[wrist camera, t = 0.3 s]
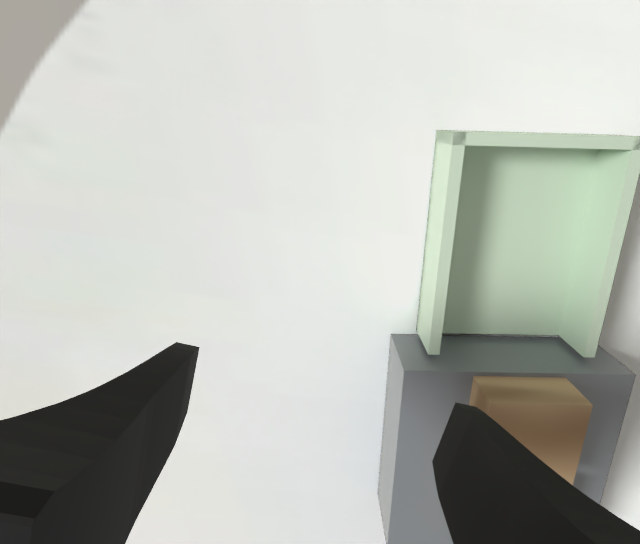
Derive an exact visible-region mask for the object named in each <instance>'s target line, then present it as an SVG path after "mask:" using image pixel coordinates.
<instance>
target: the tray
mask: <svg viewBox="0 0 640 544" xmlns="http://www.w3.org/2000/svg"><path fill="white" fill-rule="evenodd" d="M639 174H640V136H622V135H595V134H558V133H522V132H485V131H448V130H437V133H436V143H435V152H434V162H433V172H432V182H431V192H430V201H429V211H428V221H427V231H426V240H425V250H424V260H423V270H422V279H421V289H420V299H419V309H418V319H417V328H416V330H417V332H418V335H419V337H420V339H421V341H422V343H423V345H424V347H425V349H426V351H427V353H428V355H439V354H440V346H441V338H442V333H458V334H512V335H559V336H560V337H561V338H562V339H563V340H564V341H566V342H567V343H568V344H569V345H570V346H571V347H572V348H574V349H575V350H576V351H577V352H578V353H579V354H580V355H582V356H583V357H593V358H595V354H596V350H597V346H598V342H599V338H600V334H601V329H602V325H603V321H604V317H605V313H606V309H607V305H608V301H609V297H610V293H611V288H612V284H613V280H614V276H615V272H616V268H617V264H618V260H619V256H620V252H621V247H622V243H623V239H624V235H625V231H626V227H627V223H628V219H629V215H630V210H631V206H632V202H633V198H634V194H635V190H636V186H637V182H638V178H639Z"/></svg>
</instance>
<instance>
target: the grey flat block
mask: <svg viewBox="0 0 640 544" xmlns="http://www.w3.org/2000/svg"><path fill="white" fill-rule="evenodd" d="M473 376H500V377H559V378H567V379H568V380H569V381H570V382H571V383H572V384H573V385H574V386H575V387H576V388H577V389H578V391H579V392H580V393H581V394H582V395H583V396H584V397H585V398H586V399H587V400H588V401H589V402H590V403H591V404H592V405H593V407H592V411H591V415H590V419H589V423H588V427H587V431H586V435H585V439H584V443H583V447H582V451H581V455H580V459H579V463H578V467H577V471H576V475H575V479H574V483H573V486H574V487H576V488H577V489H578V490H580V491H581V492H582V493H584V494H585V495H586V496H588V497H589V498H591V499H592V500H594V501H595V502H596V503H598V504H599V505H600V501H601V497H602V494H603V490H604V487H605V483H606V479H607V476H608V472H609V469H610V465H611V462H612V458H613V454H614V451H615V447H616V444H617V440H618V437H619V433H620V429H621V426H622V422H623V419H624V415H625V412H626V408H627V404H628V401H629V397H630V394H631V390H632V386H633V383H634V379H635V376H636V374H634V373H633V372H632V371H630V370H629V369H628V368H627V367H625V366H624V365H623V364H622V363H620V362H619V361H618V360H616V359H615V358H614V357H613V356H611V355H610V354H609V353H608V352H606V351H605V350H604V349H603V348H601V347H600V346H599V345H598V346H597V350H596V354H595V358H593V357H583V356H582V355H580V354H579V353H578V352H577V351H576V350H575V349H574V348H572V347H571V346H570V345H569V344H568V343H567V342H566V341H564V340H563V339H562V338H561V337H517V336H463V335H442V338H441V346H440V354H439V355H428V353H427V351H426V349H425V347H424V345H423V343H422V341H421V339H420V337H419V335H409V334H391V339H390V351H389V363H388V375H387V387H386V399H385V411H384V423H383V435H382V447H381V459H380V471H379V483H378V498H379V504H380V510H381V516H382V522H383V528H384V534H385V540H386V544H453V541H452V538H451V535H450V532H449V529H448V526H447V523H446V520H445V516H444V513H443V510H442V507H441V504H440V500H439V497H438V492H437V487H436V482H435V476H434V470H433V464H432V460H433V458H434V455H435V453H436V450H437V448H438V445H439V443H440V440H441V438H442V435H443V433H444V430H445V428H446V425H447V422H448V420H449V417H450V415H451V412H452V410H453V407H454V405H455V402H456V403H461V404H466V405H469V402H470V396H471V389H472V382H473Z"/></svg>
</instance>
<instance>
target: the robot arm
mask: <svg viewBox="0 0 640 544" xmlns="http://www.w3.org/2000/svg"><path fill="white" fill-rule="evenodd" d="M198 351H199V347H196V346H191V345H186V344H182V343H177V342H176V343H175V344H173V345H171V346H169V347H168V348H166V349H164V350H163V351H161V352H160V353H158V354H157V355H155V356H153V357H152V358H150V359H148V360H147V361H145V362H144V363H142V364H140V365H138V366H137V367H135V368H133V369H132V370H130V371H128V372H126V373H125V374H123V375H121V376H119V377H117V378H115V379H113V380H111V381H109V382H107V383H105V384H103V385H101V386H99V387H97V388H95V389H92V390H90V391H88V392H86V393H83V394H81V395H78V396H76V397H73V398H71V399H68V400H65V401H63V402H60V403H57V404H55V405H51V406H48V407H45V408H42V409H38V410H35V411H32V412H29V413H26V414H22V415H19V416H16V417H12V418H8V419H4V420H0V544H125V542H126V540H127V538H128V536H129V533H130V531H131V529H132V527H133V525H134V523H135V521H136V519H137V517H138V515H139V513H140V511H141V509H142V507H143V505H144V503H145V501H146V499H147V498H148V496H149V494H150V492H151V490H152V488H153V486H154V484H155V482H156V480H157V478H158V476H159V475H160V473H161V471H162V469H163V467H164V465H165V463H166V461H167V459H168V457H169V455H170V453H171V451H172V449H173V447H174V445H175V443H176V440H177V438H178V435H179V433H180V430H181V427H182V424H183V422H184V419H185V416H186V414H187V410H188V405H189V399H190V394H191V389H192V383H193V378H194V373H195V367H196V362H197V357H198ZM432 464H433V470H434V476H435V482H436V487H437V492H438V497H439V500H440V504H441V507H442V510H443V513H444V516H445V520H446V523H447V526H448V529H449V532H450V535H451V538H452V541H453V544H640V531H639V530H638V529H636V528H634V527H633V526H631V525H629V524H628V523H626V522H625V521H623V520H622V519H620V518H618V517H617V516H615V515H614V514H612V513H611V512H609V511H608V510H607V509H605V508H604V507H602V506H601V505H599V504H598V503H596V502H595V501H594V500H592V499H591V498H589V497H588V496H586V495H585V494H584V493H582V492H581V491H580V490H578V489H577V488H576V487H574V486H573V485H572V484H570V483H569V482H568V481H566V480H565V479H564V478H563V477H561V476H560V475H559V474H558V473H556V472H555V471H554V470H552V469H551V468H550V467H549V466H548V465H546V464H545V463H544V462H543V461H541V460H540V459H539V458H538V457H537V456H535V455H534V454H533V453H532V452H531V451H530V450H528V449H527V448H526V447H525V446H524V445H523V444H521V443H520V442H519V441H518V440H517V439H516V438H514V437H513V436H512V435H511V434H510V433H509V432H507V431H506V430H505V429H504V428H503V427H502V426H500V425H499V424H498V423H497V422H496V421H494V420H493V419H492V418H491V417H490V416H488V415H487V414H486V413H484V412H483V411H482V410H480V409H479V408H477V407H475V406H470V405H466V404H461V403H456V402H455V405H454V407H453V410H452V412H451V415H450V417H449V420H448V422H447V425H446V428H445V430H444V433H443V435H442V438H441V440H440V443H439V445H438V448H437V450H436V453H435V455H434V458H433V460H432Z"/></svg>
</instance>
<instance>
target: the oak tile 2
mask: <svg viewBox="0 0 640 544" xmlns="http://www.w3.org/2000/svg"><path fill="white" fill-rule="evenodd" d="M469 405H470V406H475V407H477V408H479V409H480V410H482V411H483V412H484V413H486V414H487V415H488V416H490V417H491V418H492V419H493V420H494V421H496V422H497V423H498V424H499V425H500V426H502V427H503V428H504V429H505V430H506V431H507V432H509V433H510V434H511V435H512V436H513V437H514V438H516V439H517V440H518V441H519V442H520V443H521V444H523V445H524V446H525V447H526V448H527V449H528V450H530V451H531V452H532V453H533V454H534V455H535V456H537V457H538V458H539V459H540V460H541V461H543V462H544V463H545V464H546V465H548V466H549V467H550V468H551V469H552V470H554V471H555V472H556V473H558V474H559V475H560V476H561V477H563V478H564V479H565V480H566V481H568V482H569V483H570V484H572V485H573V483H574V479H575V475H576V471H577V467H578V463H579V459H580V455H581V451H582V447H583V443H584V439H585V435H586V431H587V427H588V423H589V419H590V415H591V411H592V407H593V405H592V404H591V403H590V402H589V401H588V400H587V399H586V398H585V397H584V396H583V395H582V394H581V393H580V392H579V391H578V389H577V388H576V387H575V386H574V385H573V384H572V383H571V382H570V381H569V380H568V379H567V378H559V377H500V376H473V382H472V389H471V396H470V402H469Z"/></svg>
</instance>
